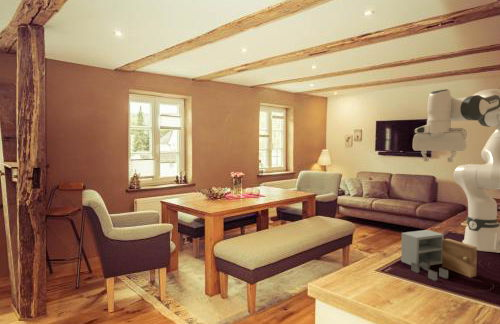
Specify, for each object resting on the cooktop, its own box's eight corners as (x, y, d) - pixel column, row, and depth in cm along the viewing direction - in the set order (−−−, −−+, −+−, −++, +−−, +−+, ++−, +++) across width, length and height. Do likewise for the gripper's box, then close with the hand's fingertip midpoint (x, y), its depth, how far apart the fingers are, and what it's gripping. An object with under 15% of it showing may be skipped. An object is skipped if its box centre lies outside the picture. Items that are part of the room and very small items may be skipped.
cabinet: (427, 257, 147) (427, 229, 146) (443, 263, 139) (443, 234, 139) (401, 261, 142) (401, 232, 142) (416, 267, 135) (416, 237, 134)
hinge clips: (423, 268, 134) (423, 260, 134) (448, 278, 124) (448, 270, 124) (411, 270, 132) (411, 262, 132) (435, 280, 122) (435, 272, 122)
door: (447, 265, 137) (448, 238, 136) (476, 276, 126) (476, 246, 125) (440, 266, 136) (440, 239, 135) (468, 277, 124) (468, 248, 124)
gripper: (469, 127, 137) (468, 162, 137) (417, 129, 152) (417, 160, 153) (463, 127, 133) (462, 162, 133) (411, 129, 148) (410, 161, 149)
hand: (438, 161), depth 143 cm, fingers open, 8 cm apart
